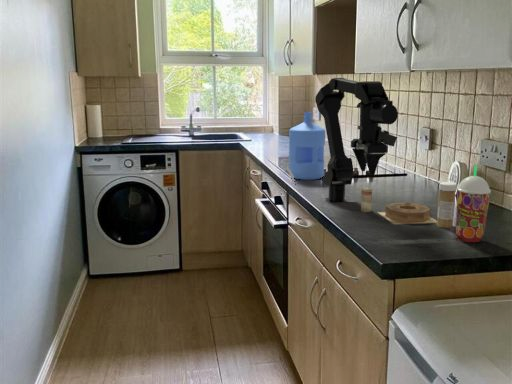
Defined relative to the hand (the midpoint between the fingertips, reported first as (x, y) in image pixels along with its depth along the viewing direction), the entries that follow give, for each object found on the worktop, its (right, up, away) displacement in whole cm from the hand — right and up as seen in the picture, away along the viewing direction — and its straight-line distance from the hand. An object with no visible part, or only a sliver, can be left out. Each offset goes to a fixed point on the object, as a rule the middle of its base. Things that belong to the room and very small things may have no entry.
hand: (367, 173), depth 160 cm
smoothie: (+22, -19, -23) cm, 37 cm away
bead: (+11, -14, -5) cm, 18 cm away
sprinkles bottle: (+19, -17, -14) cm, 29 cm away
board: (+11, -15, -5) cm, 19 cm away
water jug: (-13, 0, +65) cm, 66 cm away
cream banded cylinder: (0, -13, +3) cm, 13 cm away
